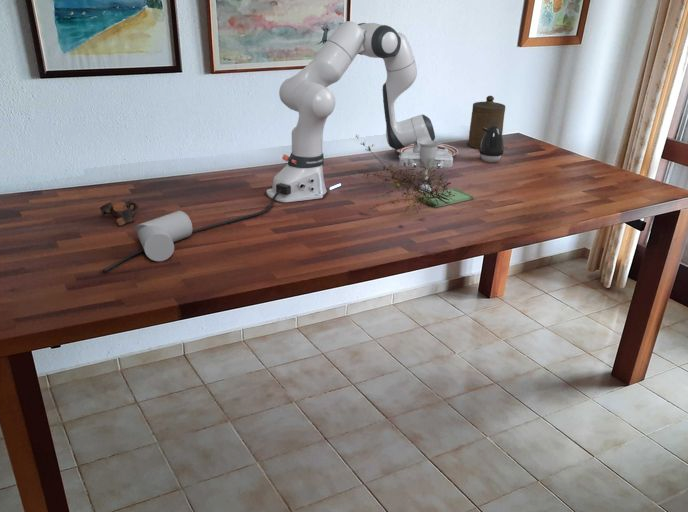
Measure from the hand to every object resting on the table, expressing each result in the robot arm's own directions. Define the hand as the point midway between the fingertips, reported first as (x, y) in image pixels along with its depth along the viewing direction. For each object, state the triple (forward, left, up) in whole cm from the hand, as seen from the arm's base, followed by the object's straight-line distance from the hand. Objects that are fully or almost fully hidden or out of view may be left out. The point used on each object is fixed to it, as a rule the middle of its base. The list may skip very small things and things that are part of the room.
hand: (426, 166), depth 259 cm
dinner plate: (+31, +37, -10) cm, 49 cm away
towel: (0, -11, -9) cm, 15 cm away
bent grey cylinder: (-103, -1, -10) cm, 103 cm away
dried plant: (-27, -21, -10) cm, 36 cm away
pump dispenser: (+50, +17, -10) cm, 54 cm away
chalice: (0, 0, -10) cm, 10 cm away
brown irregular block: (-107, +28, -10) cm, 111 cm away
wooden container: (+66, +37, -10) cm, 76 cm away
